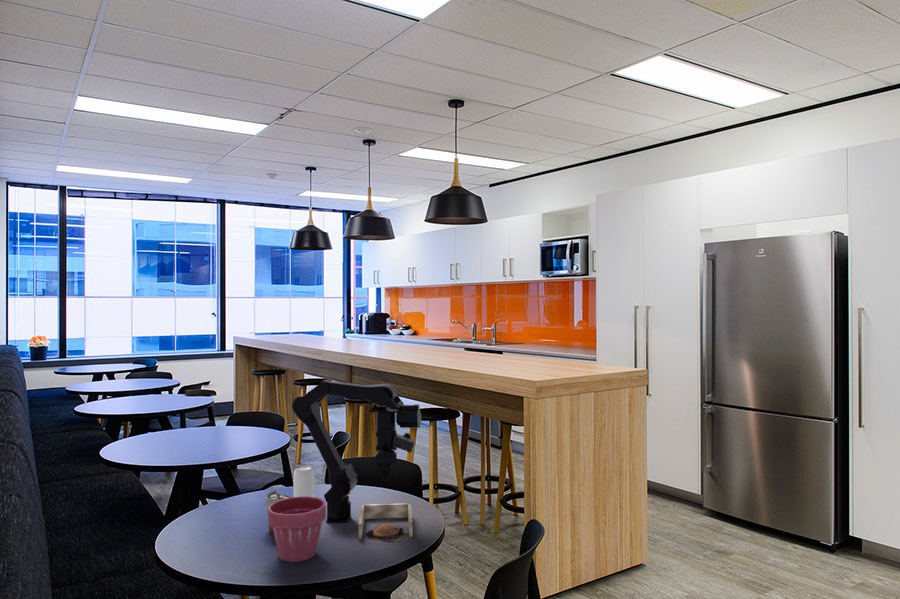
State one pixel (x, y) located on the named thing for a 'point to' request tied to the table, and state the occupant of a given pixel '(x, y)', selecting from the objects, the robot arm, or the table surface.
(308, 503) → the plant pot
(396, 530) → the bread roll
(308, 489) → the can
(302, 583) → the table surface
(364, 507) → the frame
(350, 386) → the robot arm
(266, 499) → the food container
